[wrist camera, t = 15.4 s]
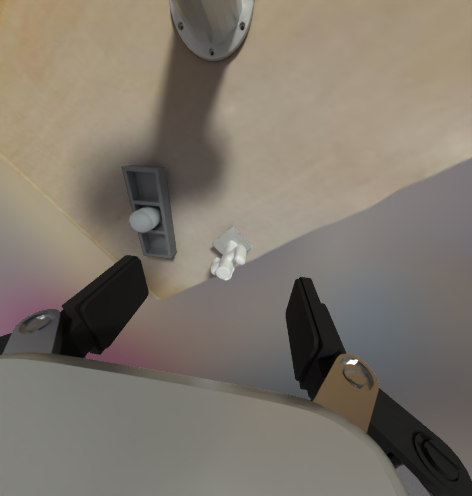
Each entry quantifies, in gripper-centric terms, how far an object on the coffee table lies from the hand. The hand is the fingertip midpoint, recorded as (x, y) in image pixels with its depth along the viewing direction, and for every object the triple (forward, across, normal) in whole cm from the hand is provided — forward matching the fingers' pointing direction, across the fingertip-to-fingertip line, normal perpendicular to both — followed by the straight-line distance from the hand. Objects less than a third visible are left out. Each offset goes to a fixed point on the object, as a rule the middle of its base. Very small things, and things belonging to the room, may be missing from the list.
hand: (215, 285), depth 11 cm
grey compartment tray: (+32, +22, +8) cm, 40 cm away
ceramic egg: (+31, +23, +8) cm, 40 cm away
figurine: (+32, +2, +13) cm, 35 cm away
